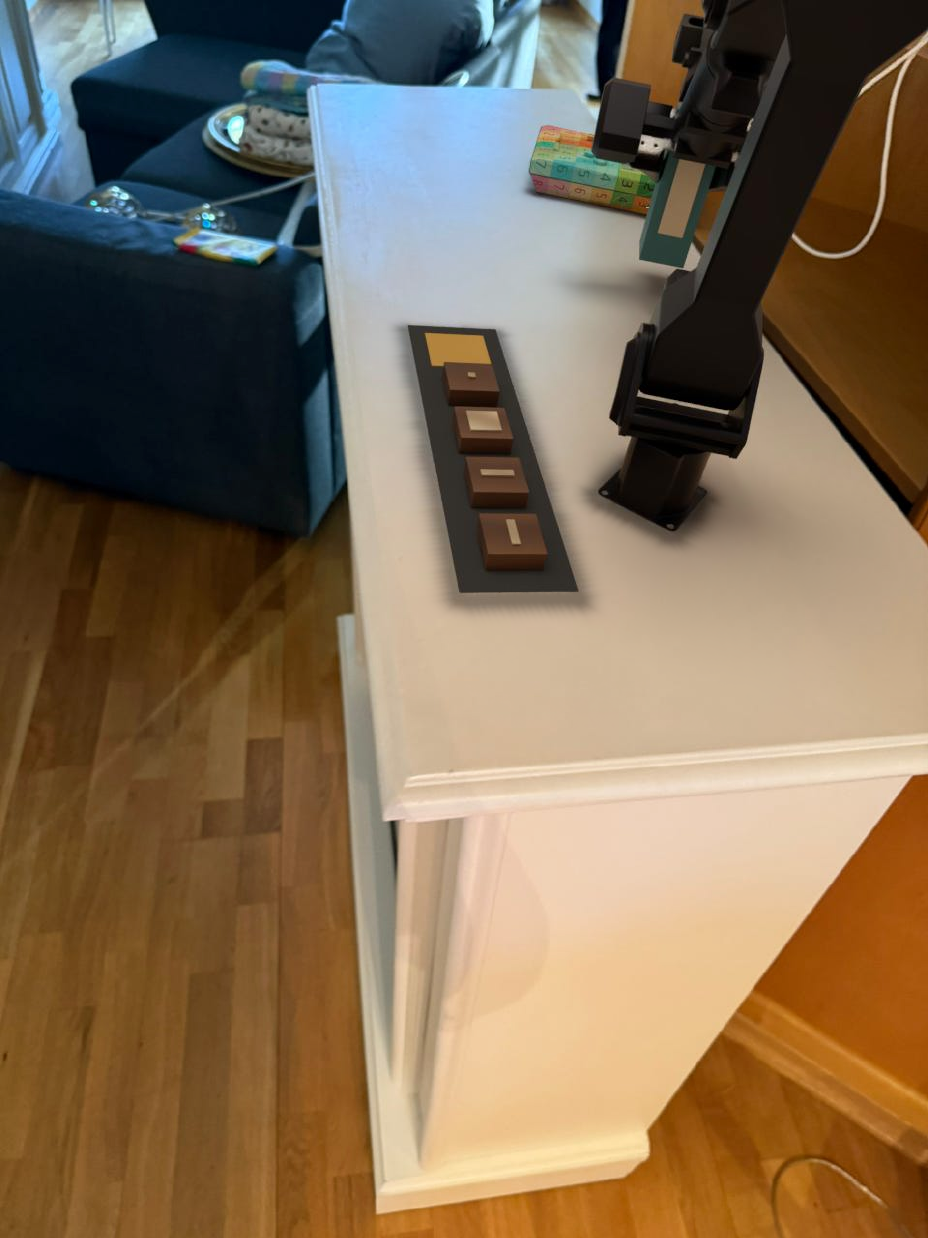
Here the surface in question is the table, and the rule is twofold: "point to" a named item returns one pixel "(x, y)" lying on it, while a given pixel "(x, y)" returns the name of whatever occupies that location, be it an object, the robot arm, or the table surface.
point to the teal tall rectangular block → (674, 210)
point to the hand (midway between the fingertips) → (680, 182)
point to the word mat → (459, 515)
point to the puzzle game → (585, 172)
